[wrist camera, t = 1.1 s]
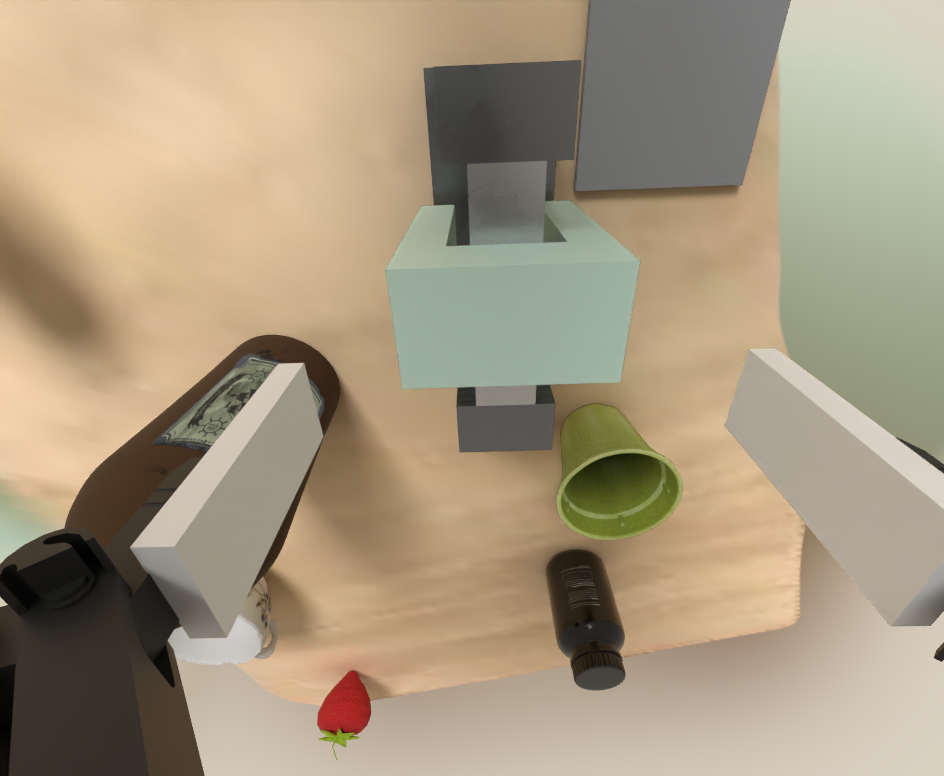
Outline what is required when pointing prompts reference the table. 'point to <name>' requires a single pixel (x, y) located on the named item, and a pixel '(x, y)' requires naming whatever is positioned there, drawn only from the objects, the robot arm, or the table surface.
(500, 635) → the table surface
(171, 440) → the olive oil
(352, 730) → the strawberry
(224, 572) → the robot arm
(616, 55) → the gray rectangular panel
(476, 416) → the stand
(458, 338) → the mint green u-shaped block
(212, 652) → the teacup
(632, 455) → the plant pot
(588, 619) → the supplement bottle
